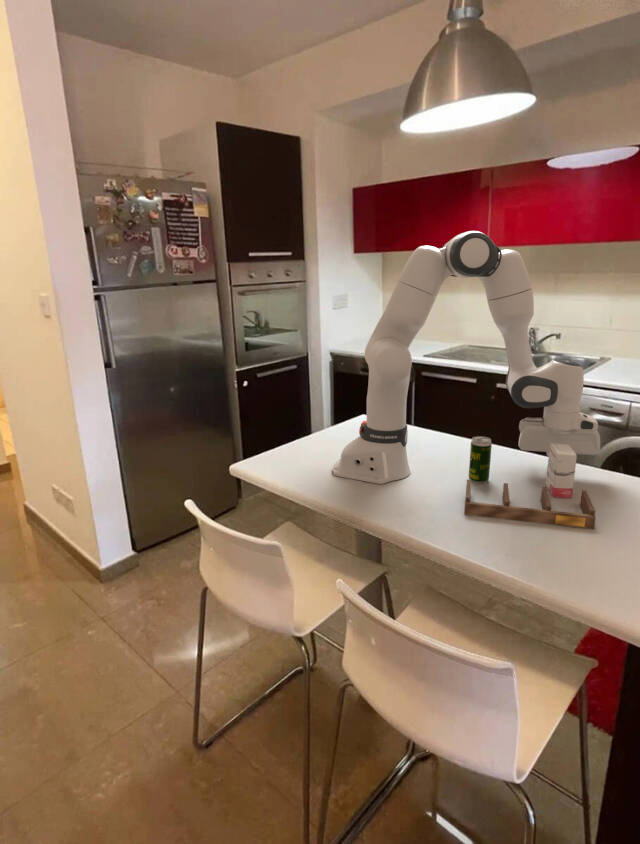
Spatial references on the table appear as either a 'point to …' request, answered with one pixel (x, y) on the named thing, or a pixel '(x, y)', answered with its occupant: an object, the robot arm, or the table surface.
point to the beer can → (480, 459)
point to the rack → (533, 510)
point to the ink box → (561, 470)
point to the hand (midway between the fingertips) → (555, 466)
